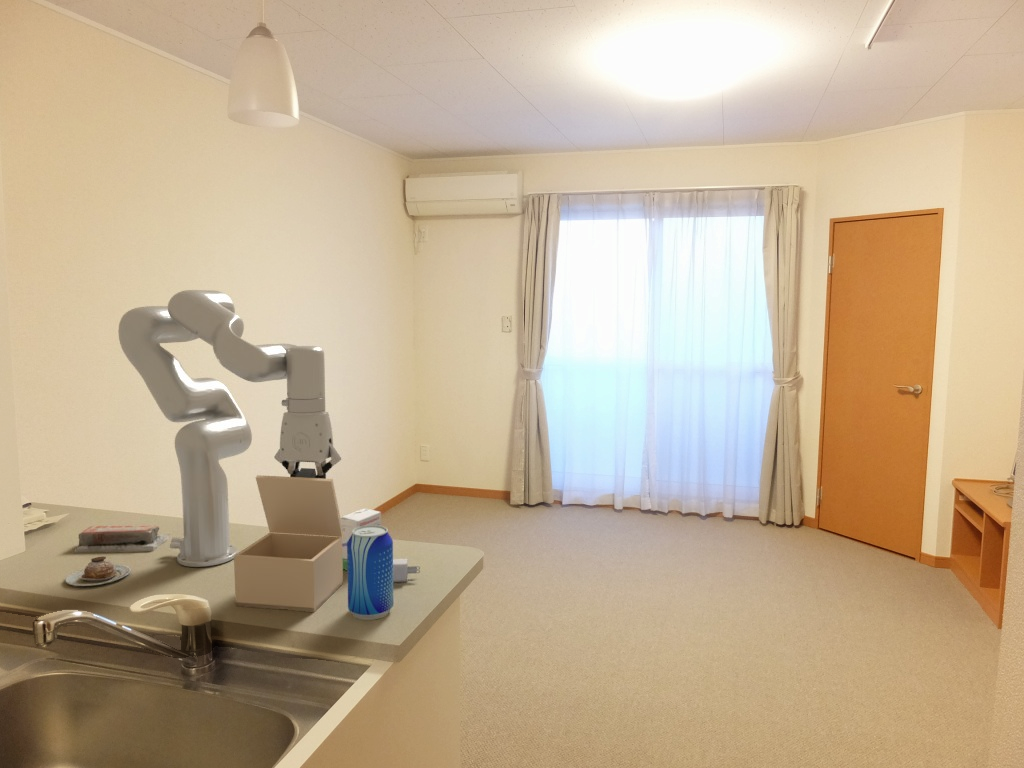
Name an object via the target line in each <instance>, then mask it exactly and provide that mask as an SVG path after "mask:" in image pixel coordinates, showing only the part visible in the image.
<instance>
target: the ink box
mask: <svg viewBox="0 0 1024 768" xmlns="http://www.w3.org/2000/svg"><path fill="white" fill-rule="evenodd" d="M340 519H341V524H342V529H343V534H344V535H343V537H342V559H343V569H345V571H348V570H347V542H348V540H349V539H350V537H351V535H352V530H353V529H355V528H357V527H360V526H365V525H380V526H382V511H378V510H374V509H369V508H361V509H359V510H355V511H353V512H351V513H347V514H345V515H342V517H340Z"/></svg>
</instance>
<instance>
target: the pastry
mask: <svg viewBox="0 0 1024 768" xmlns="http://www.w3.org/2000/svg"><path fill="white" fill-rule="evenodd" d="M106 558H107V556H97V557H93V558H91V559H90V560H91V561H90V562H88V564H87V565H86V566H85V568H82V569H79V570H76V571H74V572H72V573H71V574H69V575H67V576H66V577H65V579H64V582H65V583H66V584H67V585H70V586H71V587H73V588H77V587H94V586H101V585H102V586H103V585H105V584H111V583H114V582H115V581H118V580H120V579H122V578H124V577H127V576H128V575H129V574H130V572H131V568H130V567H129V566H127V565H123V564H113V563H112V562H111V561H109V560H106ZM117 573H119V575H118V576H117V577H115V578H113V577H114V576H116V575H117ZM80 578H81V579H82V580H83V581H86V582H92V583H79V582H78V580H79V579H80ZM102 581H103V582H102ZM93 582H98V583H93Z"/></svg>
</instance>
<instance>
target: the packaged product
mask: <svg viewBox="0 0 1024 768" xmlns="http://www.w3.org/2000/svg"><path fill="white" fill-rule="evenodd" d="M159 530H160V526H159V525H91V526H89V527H87V528H86V529H84V530H82V531H81V532H80V533H79V534H78V545H77V546H75V548H74V553H76V554H77V553H130V552H131V553H132V552H133V553H134V552H136V553H137V552H140V553H141V552H153V551H155V550H157V549H158V548H159V547H160V546H161V545H163V544H164V543H165V542H167V541H168V540H169V538H170V534H167V533H166V534H158V532H159Z"/></svg>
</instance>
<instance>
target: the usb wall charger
mask: <svg viewBox="0 0 1024 768" xmlns="http://www.w3.org/2000/svg"><path fill="white" fill-rule="evenodd" d="M408 560H409V559H408V558H393V583H402V582H403V583H407V582H408V579H407V578H409V577H408V576H409V575H410V574H420V573H421V570H420V568H421V567H420V565H419V566H417V565H413V566H412V565H410V566H409V565H408V564H409V563H408V562H409V561H408Z"/></svg>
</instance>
